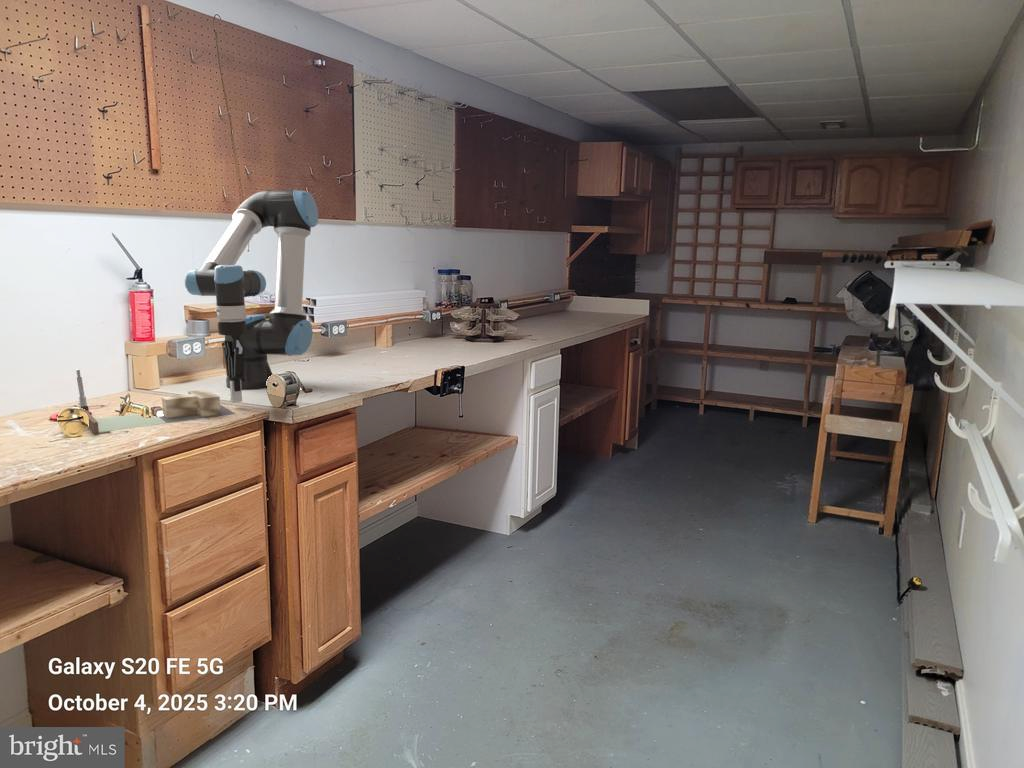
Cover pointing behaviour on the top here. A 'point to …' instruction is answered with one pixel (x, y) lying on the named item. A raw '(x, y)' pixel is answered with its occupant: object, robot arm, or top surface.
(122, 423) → the mat
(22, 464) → the top surface
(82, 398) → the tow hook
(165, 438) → the top surface
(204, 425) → the top surface
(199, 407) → the t block
